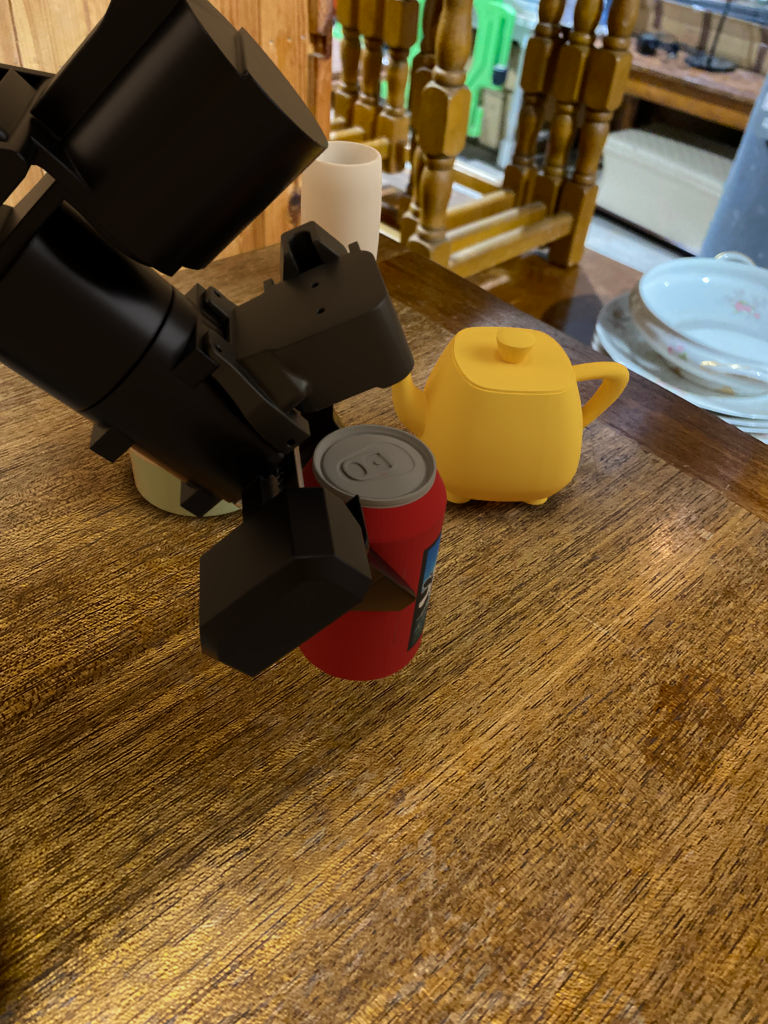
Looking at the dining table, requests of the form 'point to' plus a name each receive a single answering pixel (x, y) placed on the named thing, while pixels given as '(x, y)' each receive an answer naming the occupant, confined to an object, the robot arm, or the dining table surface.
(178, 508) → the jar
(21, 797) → the dining table surface
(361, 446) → the beverage can
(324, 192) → the cup
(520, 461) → the teapot
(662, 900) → the dining table surface
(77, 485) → the dining table surface
